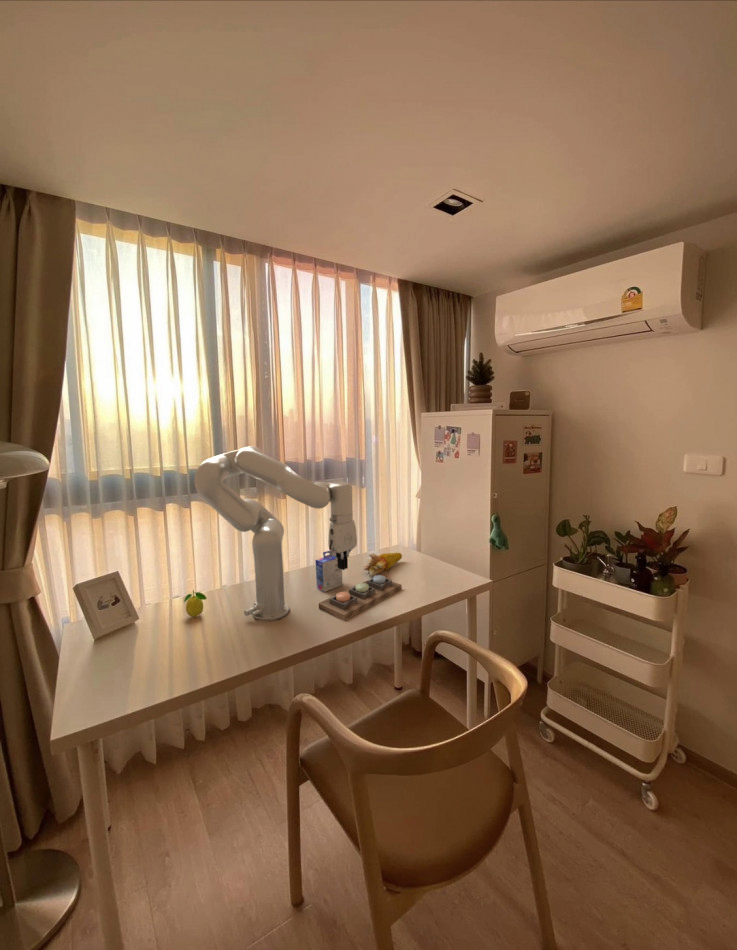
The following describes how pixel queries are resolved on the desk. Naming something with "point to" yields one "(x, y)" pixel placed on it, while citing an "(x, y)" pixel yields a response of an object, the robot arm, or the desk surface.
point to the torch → (381, 562)
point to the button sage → (362, 588)
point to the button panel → (359, 599)
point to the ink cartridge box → (328, 573)
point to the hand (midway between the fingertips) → (342, 568)
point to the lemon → (194, 603)
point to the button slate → (379, 579)
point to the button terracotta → (343, 597)
